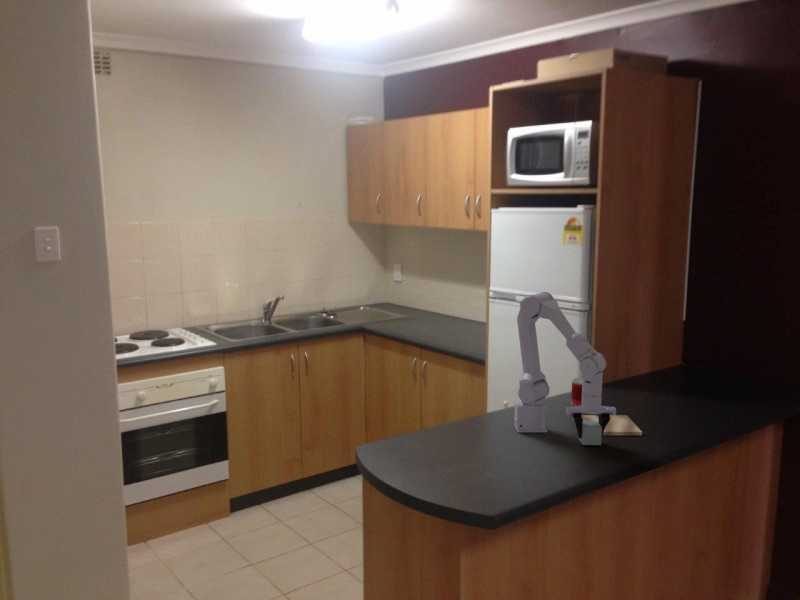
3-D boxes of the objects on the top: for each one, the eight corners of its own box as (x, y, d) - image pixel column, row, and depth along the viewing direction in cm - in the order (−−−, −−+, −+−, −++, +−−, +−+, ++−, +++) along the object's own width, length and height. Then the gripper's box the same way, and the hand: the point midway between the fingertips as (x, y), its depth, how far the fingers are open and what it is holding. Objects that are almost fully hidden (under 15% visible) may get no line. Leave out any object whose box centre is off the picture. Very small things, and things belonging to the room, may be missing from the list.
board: (584, 435, 222) (584, 431, 222) (572, 418, 238) (572, 415, 238) (641, 435, 222) (642, 431, 222) (626, 418, 238) (626, 415, 237)
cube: (582, 444, 212) (583, 427, 212) (578, 438, 218) (579, 421, 217) (601, 445, 212) (601, 427, 211) (596, 438, 218) (597, 421, 217)
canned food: (590, 416, 239) (591, 385, 238) (567, 412, 244) (568, 381, 242) (597, 411, 246) (599, 380, 244) (575, 407, 250) (576, 376, 248)
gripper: (570, 397, 209) (568, 441, 211) (619, 397, 209) (617, 441, 211) (565, 390, 216) (563, 433, 218) (613, 390, 215) (611, 433, 218)
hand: (589, 437), depth 215 cm, fingers closed on cube, 5 cm apart
